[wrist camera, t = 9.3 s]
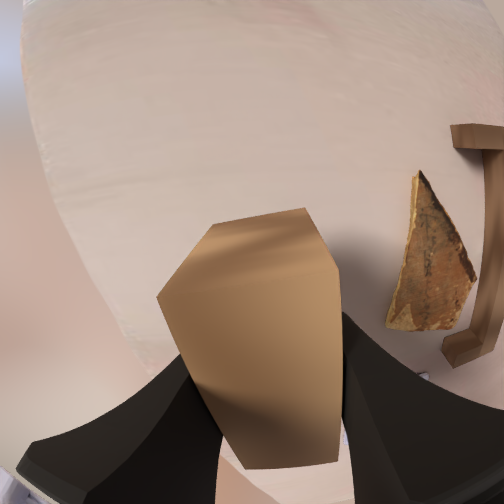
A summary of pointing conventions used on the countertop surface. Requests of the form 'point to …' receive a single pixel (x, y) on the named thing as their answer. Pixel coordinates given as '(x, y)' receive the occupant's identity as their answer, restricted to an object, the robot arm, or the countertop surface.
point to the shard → (430, 268)
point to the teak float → (263, 337)
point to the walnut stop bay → (484, 248)
